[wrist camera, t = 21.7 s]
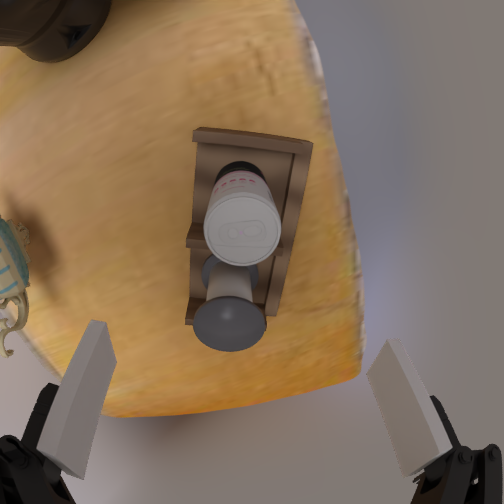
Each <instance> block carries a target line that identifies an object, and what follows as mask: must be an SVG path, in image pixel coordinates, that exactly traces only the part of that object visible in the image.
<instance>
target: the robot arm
mask: <svg viewBox="0 0 504 504" xmlns="http://www.w3.org/2000/svg"><path fill="white" fill-rule="evenodd" d="M111 1H112V0H0V46H13V47H17V48H18V49H20V50H21V51H22V52H23V53H25V54H26V55H27V56H29V57H30V58H31V59H33V60H36V61H40V62H58V61H62V60H65V59H67V58H69V57H71V56H73V55H74V54H76V53H77V52H79V51H80V50H81V49H83V48H84V47H85V46H86V45H87V44H88V43H89V42H90V41H91V40H92V39H93V38H94V37H95V35H96V34H97V33H98V31H99V30H100V29H101V27H102V25H103V24H104V22H105V20H106V18H107V16H108V13H109V10H110V7H111ZM116 363H117V361H116V357H115V354H114V350H113V347H112V343H111V340H110V336H109V332H108V328H107V324H106V322H102V321H96V320H91V321H90V323H89V325H88V327H87V329H86V331H85V333H84V335H83V337H82V339H81V341H80V343H79V345H78V347H77V349H76V351H75V353H74V355H73V357H72V359H71V362H70V364H69V366H68V368H67V370H66V373H65V375H64V377H63V379H62V382H61V384H60V386H58V385H55V384H52V383H48V384H47V385H46V387H44V388H43V389H42V391H41V392H40V394H39V397H38V399H37V403H36V404H35V406H34V408H33V411H32V413H31V416H30V418H29V421H28V424H27V426H26V429H25V432H24V434H23V437H22V439H21V441H19V439H17V438H16V437H14V436H12V435H4V436H3V437H1V438H0V504H76V503H75V501H74V499H73V498H72V496H71V494H70V492H69V490H68V488H67V487H66V484H65V483H64V481H63V479H62V477H61V476H60V474H61V470H63V471H64V472H65V473H66V474H68V475H71V476H74V477H76V478H79V479H82V480H84V476H85V471H86V467H87V463H88V459H89V454H90V450H91V446H92V442H93V438H94V434H95V431H96V427H97V424H98V420H99V417H100V413H101V410H102V406H103V403H104V400H105V396H106V393H107V390H108V387H109V384H110V381H111V378H112V375H113V372H114V369H115V366H116ZM366 375H367V377H368V379H369V382H370V385H371V387H372V390H373V392H374V395H375V398H376V400H377V403H378V405H379V408H380V411H381V414H382V417H383V419H384V422H385V425H386V428H387V430H388V433H389V436H390V439H391V442H392V445H393V448H394V451H395V454H396V457H397V460H398V463H399V466H400V469H401V472H402V475H403V478H405V477H408V476H411V475H413V474H416V473H417V472H419V471H421V470H422V469H424V471H425V472H423V473H422V474H420V475H419V476H417V477H416V478H414V480H413V483H414V482H416V481H418V480H419V479H420V481H418V482H417V483H416V484H418V486H417V489H416V492H415V494H414V496H413V499H412V501H411V504H502V457H501V451H500V449H499V447H498V446H497V445H495V444H489V445H488V446H487V447H486V448H484V449H483V450H471V449H470V448H468V447H467V446H461V444H460V443H459V441H458V439H457V436H456V434H455V432H454V430H453V427H452V425H451V423H450V421H449V420H448V417H447V415H446V413H445V410H444V408H443V406H442V405H441V402H440V401H439V400H438V399H437V398H436V397H435V396H434V395H433V396H429V395H428V393H427V391H426V388H425V387H424V385H423V383H422V381H421V379H420V377H419V375H418V373H417V371H416V369H415V367H414V365H413V363H412V361H411V360H410V358H409V356H408V354H407V352H406V350H405V349H404V347H403V345H402V343H401V342H400V340H399V339H387V340H386V342H385V344H384V346H383V347H382V349H381V351H380V353H379V354H378V356H377V358H376V359H375V361H374V363H373V364H372V366H371V367H370V369H369V371H368V372H367V374H366ZM477 478H478V483H477V484H474V480H475V479H477Z"/></svg>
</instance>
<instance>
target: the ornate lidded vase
mask: <svg viewBox="0 0 504 504" xmlns="http://www.w3.org/2000/svg"><path fill="white" fill-rule="evenodd" d="M18 226H19V228H18V227H17V226H16V225H15V224H13V222H12V220H9V221H7V222H6V221H5V220H4V219H2V218H1V215H0V300H1V299H5V300H4V302H3V303H2V304H0V308H1V309H5V308H6V305H7V304H8V302H9V301H10V300H12V301H13V302H14V303H15V305H17V306H18V319H17V322H16V324H15V325H14V326H13V327H11V328H9V327H7V325H6V321H7V320H8V319H7V318H4V319H0V328H2V330H1V332H0V354H1V356H2V357H5V358H8V356H11V355H13V352H14V351H13V350H7V351H6V350H5V347H4V338H5V336H6V335H7V334H8V333H9V332H11V331H16V330H20V329H22V328H23V327H24V326H25V324H26V322H27V319H28V313H29V302H28V296H27V292H26V289H25V288H26V287H29V286H30V283H29V282H28V279H29V271H28V268H27V263H29V262H31V260H30V258H29V256H28V254H27V252H26V244H29V243H30V240H29V233H28V232H29V230H28V229H27V228H26V227H25V226H22V223H21V222H20V223H19V225H18ZM21 228H22V229H25V230H22V231H20V229H21ZM26 234H27V236H26ZM25 237H26V239H25V240H24V238H25Z"/></svg>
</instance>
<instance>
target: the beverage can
mask: <svg viewBox="0 0 504 504" xmlns="http://www.w3.org/2000/svg"><path fill="white" fill-rule="evenodd" d="M280 235H281V220H280V217H279V214H278V211H277V209H276V206H275V203H274V201H273V198H272V195H271V193H270V190H269V187H268V185H267V182H266V180H265V177H264V175H263V173H262V171H261V170H260V169H259V168H258V167H257V166H255V165H254V164H252V163H249V162H246V161H235V162H232V163H229V164H227V165H226V166H224V167H223V168H222V169H221V170H220V171H219V173H218V175H217V177H216V180H215V183H214V187H213V190H212V194H211V198H210V201H209V205H208V209H207V213H206V216H205V220H204V236H205V239H206V242H207V245H208V247H209V249H210V250H211V251H212V253H213V254H214V255H215V256H216V257H217V258H219V259H220V260H222V261H224V262H226V263H228V264H231V265H236V266H248V265H253V264H256V263H259V262H261V261H263V260H264V259H266V258H267V257H268V256H270V255H271V254H272V252H273V251H274V250H275V248H276V247H277V245H278V242H279V239H280Z"/></svg>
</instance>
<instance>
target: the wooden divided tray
mask: <svg viewBox="0 0 504 504" xmlns="http://www.w3.org/2000/svg"><path fill="white" fill-rule="evenodd" d="M192 142H198V146H197V157H196V169H195V182H194V196H193V212H192V223H191V226H190V229H189V232H188V235H187V238H186V248H191V255H190V297H189V302H188V307H187V312H186V318H185V325H193V321H194V316H195V313H196V311H197V309H198V308H199V307H200V306H201V305H202V304H203V303H204V302H206V299H207V291H208V290H207V289H206V288H205V286H204V284H203V282H202V277H201V274H202V268H203V264H204V262H205V261H206V259H207V258H208V257H209V256H210V255H211V254H213V253H212V251H211V250H210V249H209V247H208V245H207V242H206V239H205V236H204V220H205V216H206V213H207V209H208V205H209V201H210V198H211V194H212V190H213V187H214V183H215V180H216V177H217V175H218V173H219V171H220V170H221V169H222V168H223V167H224V166H226V165H227V164H229V163H232V162H235V161H246V162H249V163H252V164H254V165H255V166H257V167H258V168H259V169H260V170H261V171H262V173H263V175H264V177H265V180H266V182H267V185H268V187H269V190H270V193H271V195H272V198H273V201H274V203H275V206H276V209H277V211H278V214H279V217H280V220H281V235H280V239H279V242H278V245H277V247H276V248H275V250H274V251H273V252H272V254H271V255H270V256H268V257H267V258H266V259H264V260H263V261H261V262H259V263H256V265H257V268H258V275H259V277H258V283H257V285H256V287H255V288H254V290H253V291H252V301H253V303H254V304H255V305H256V306H258V307H259V309H260V310H261V312H262V313H263V316H264V321H265V331H266V327H267V321H266V316H276V315H277V310H278V306H279V302H280V298H281V294H282V290H283V286H284V281H285V277H286V273H287V268H288V264H289V260H290V255H291V251H292V246H293V242H294V237H295V232H296V228H297V223H298V218H299V214H300V209H301V204H302V199H303V194H304V189H305V184H306V179H307V174H308V169H309V164H310V158H311V153H312V148H313V143H312V142H310V141H306V140H301V139H295V138H289V137H283V136H276V135H270V134H262V133H255V132H247V131H238V130H228V129H218V128H206V127H199V128H198V129H196V130H194V131H193V140H192Z"/></svg>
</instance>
